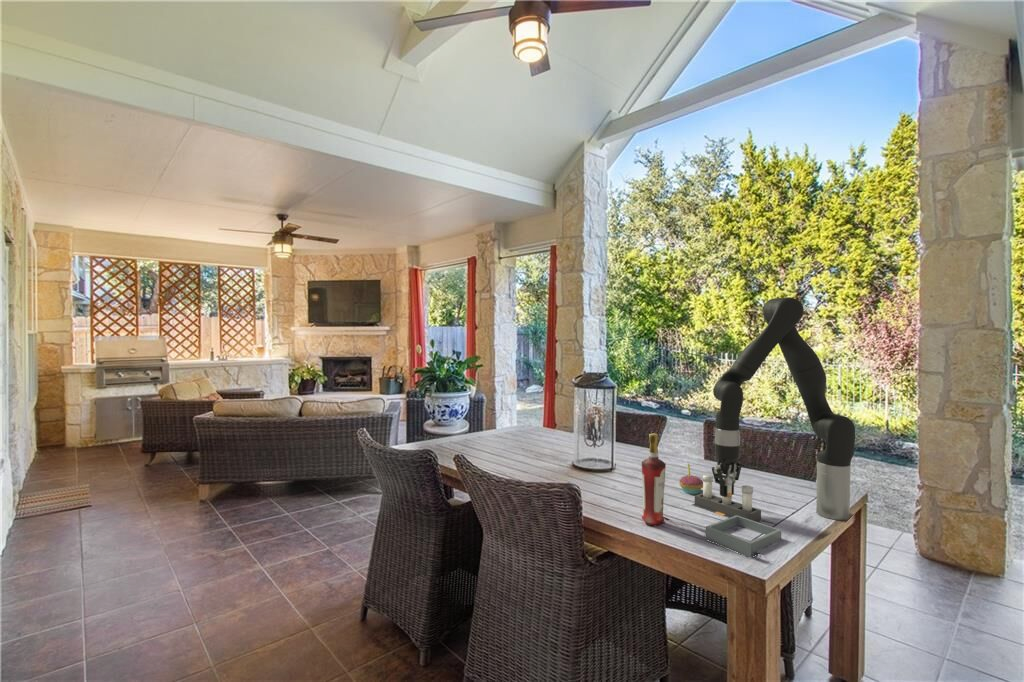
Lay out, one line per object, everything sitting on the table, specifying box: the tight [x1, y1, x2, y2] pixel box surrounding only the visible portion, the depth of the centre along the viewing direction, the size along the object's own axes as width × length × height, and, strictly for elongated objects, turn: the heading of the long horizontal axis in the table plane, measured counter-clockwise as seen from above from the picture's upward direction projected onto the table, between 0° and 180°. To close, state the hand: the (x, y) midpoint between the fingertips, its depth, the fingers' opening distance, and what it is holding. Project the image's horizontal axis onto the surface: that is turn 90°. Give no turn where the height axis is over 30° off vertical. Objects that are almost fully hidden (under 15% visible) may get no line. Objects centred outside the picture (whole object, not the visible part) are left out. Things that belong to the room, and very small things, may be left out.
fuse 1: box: [702, 474, 714, 500], centre depth 167 cm, size 3×3×10 cm
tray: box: [705, 515, 782, 558], centre depth 142 cm, size 16×14×4 cm
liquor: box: [641, 433, 667, 526], centre depth 156 cm, size 7×7×28 cm
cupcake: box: [678, 462, 703, 495], centre depth 181 cm, size 9×8×12 cm
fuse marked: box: [721, 478, 733, 506], centre depth 161 cm, size 3×3×10 cm
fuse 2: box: [741, 485, 754, 513], centre depth 155 cm, size 3×3×10 cm
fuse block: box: [691, 492, 765, 523], centre depth 161 cm, size 8×21×4 cm, turn 34°
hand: (726, 494), depth 161 cm, fingers closed on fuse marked, 3 cm apart
